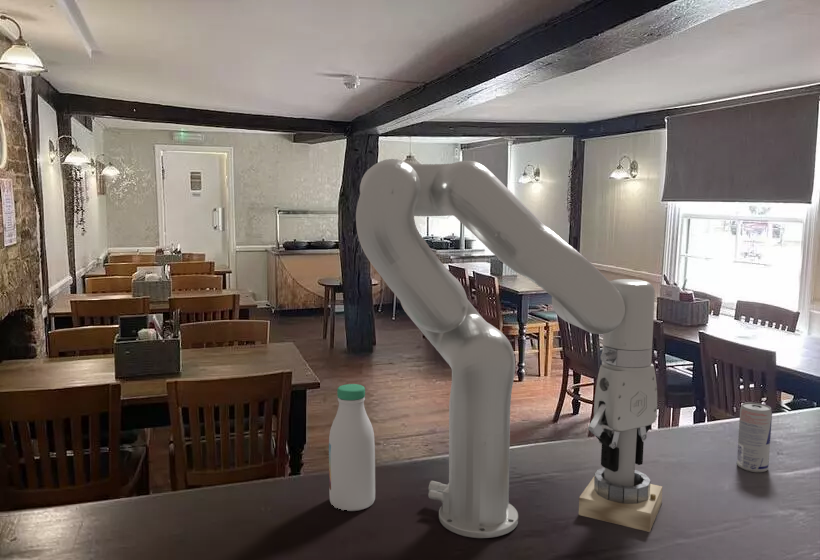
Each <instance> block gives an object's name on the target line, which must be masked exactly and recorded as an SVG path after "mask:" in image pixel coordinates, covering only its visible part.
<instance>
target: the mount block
mask: <svg viewBox="0 0 820 560" xmlns="http://www.w3.org/2000/svg"><path fill="white" fill-rule="evenodd" d="M594 477H595V475H593V477H592V479H590V482H589V483H588V484H587V486H586V487H585V488H584V490H583V491H582V493H581V494H580V495H579V498H578V516H582V517H585V518H590V519H594V520H599V521H603V522H607V523H609V524H611V523H612V524H615V525H620V526H623V527H627V528H631V529H635V530H640V531H643V532H648V533H650V532H651V531H652V527H653V525H654V523H655V521H656V518H657V516H658V513H659V512H660V511H659V510H660V508H661V507H662V504H663V485H662V486H661V485H658V484H652V483H650V496H649V498H648V500H647V501H644V502H641V503H637V504H624V503H623V504H622V503H618V502H613V501H609V500H607V499H605V498H603V497H601V496H599V495H598V494H597V493H596V491H595V490H594Z"/></svg>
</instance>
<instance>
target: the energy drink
mask: <svg viewBox="0 0 820 560" xmlns="http://www.w3.org/2000/svg"><path fill="white" fill-rule="evenodd" d="M739 408H740V409H739V423H738V424H739V425H738V439H737V440H738V441H737V455H736V464H737V466H738V467H739V468H740V469H742V470H744V471H747V472H752V473H765V472H766V471H768V470H769V467H770V465H769V463H770V452H771V451H770V450H771V435H772V423H773V422H772V421H773V412H772V407H771V406H769V405H767V404H763V403H760V402H751V401H749V402H743V403H741V406H740V407H739Z"/></svg>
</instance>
